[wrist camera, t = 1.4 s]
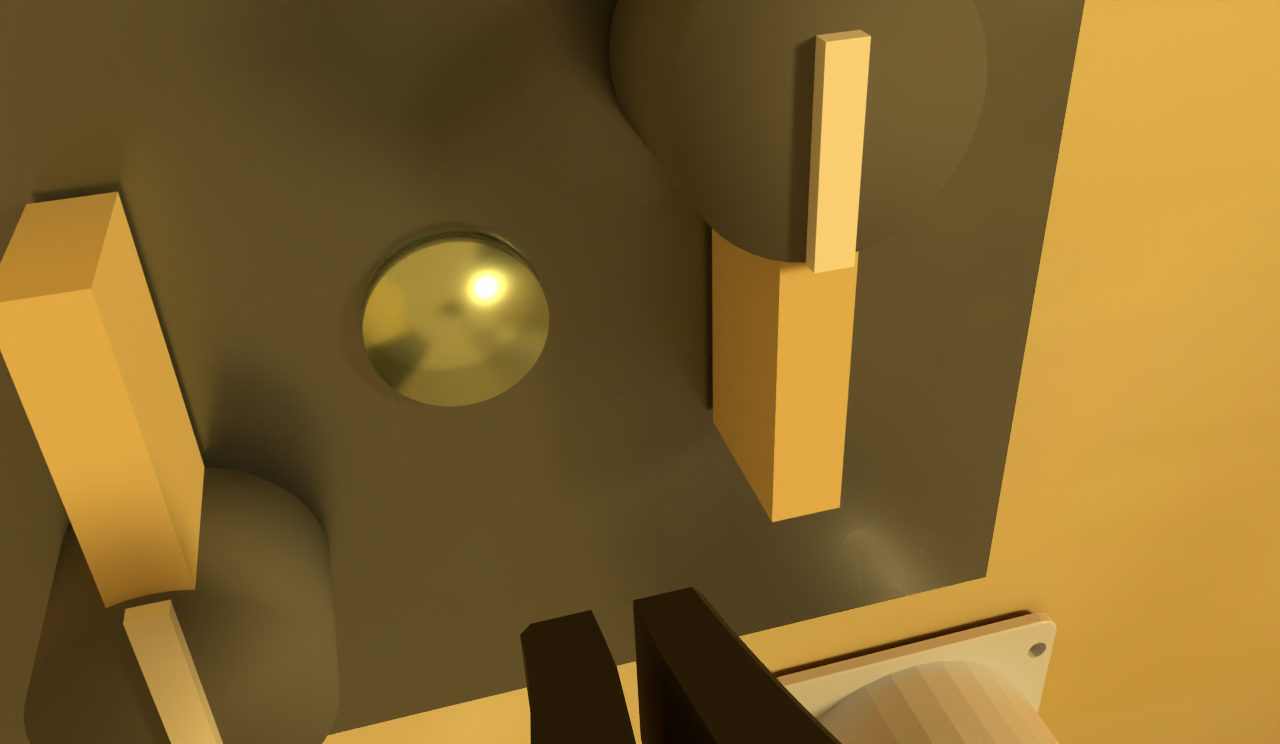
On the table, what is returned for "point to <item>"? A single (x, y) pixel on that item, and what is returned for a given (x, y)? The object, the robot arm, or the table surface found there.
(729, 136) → the knob
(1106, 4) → the table surface
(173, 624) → the knob
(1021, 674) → the robot arm
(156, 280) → the levelling plate
